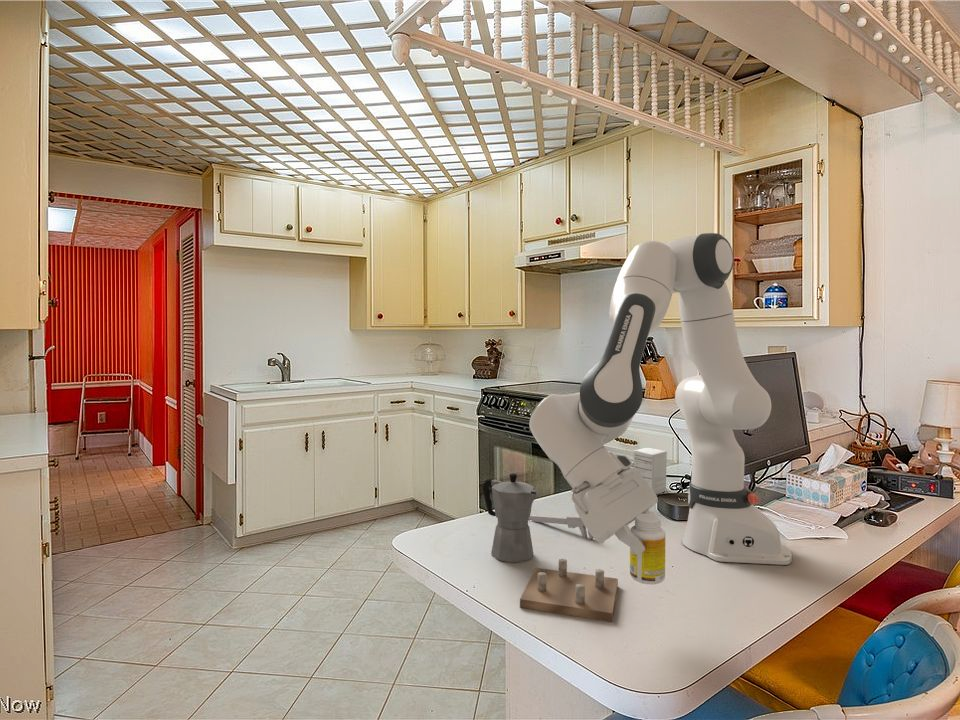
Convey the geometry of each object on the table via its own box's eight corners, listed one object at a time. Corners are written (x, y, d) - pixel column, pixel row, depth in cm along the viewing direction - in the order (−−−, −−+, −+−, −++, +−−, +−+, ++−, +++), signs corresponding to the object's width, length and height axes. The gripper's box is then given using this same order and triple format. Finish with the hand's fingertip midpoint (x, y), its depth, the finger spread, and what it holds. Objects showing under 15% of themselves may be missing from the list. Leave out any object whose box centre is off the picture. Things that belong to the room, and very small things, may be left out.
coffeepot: (549, 556, 123) (550, 474, 122) (523, 570, 116) (524, 483, 115) (495, 538, 134) (496, 463, 133) (468, 550, 127) (468, 470, 126)
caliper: (593, 540, 134) (594, 514, 134) (591, 541, 133) (591, 515, 133) (528, 519, 148) (528, 495, 148) (525, 520, 148) (525, 496, 147)
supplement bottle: (671, 578, 93) (672, 517, 92) (652, 589, 89) (653, 525, 88) (641, 568, 97) (642, 509, 96) (622, 577, 93) (623, 516, 93)
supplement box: (646, 486, 180) (647, 446, 179) (666, 491, 174) (667, 451, 173) (631, 490, 175) (632, 449, 174) (652, 496, 169) (653, 454, 169)
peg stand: (617, 586, 109) (618, 563, 109) (612, 621, 96) (612, 595, 96) (535, 574, 114) (536, 552, 114) (519, 607, 101) (520, 582, 100)
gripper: (579, 479, 88) (640, 555, 83) (631, 454, 104) (684, 517, 99) (554, 502, 91) (611, 577, 86) (608, 474, 107) (659, 536, 102)
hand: (651, 544), depth 92 cm, fingers closed on supplement bottle, 5 cm apart
